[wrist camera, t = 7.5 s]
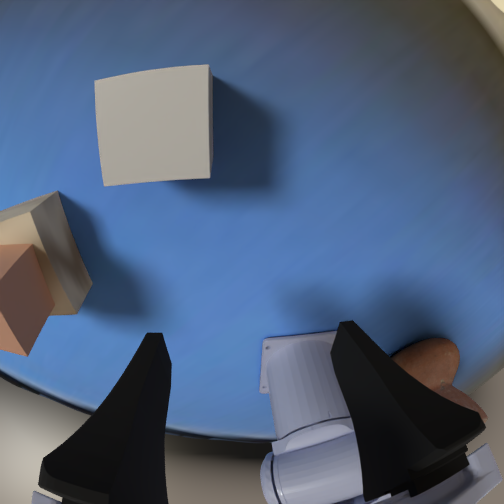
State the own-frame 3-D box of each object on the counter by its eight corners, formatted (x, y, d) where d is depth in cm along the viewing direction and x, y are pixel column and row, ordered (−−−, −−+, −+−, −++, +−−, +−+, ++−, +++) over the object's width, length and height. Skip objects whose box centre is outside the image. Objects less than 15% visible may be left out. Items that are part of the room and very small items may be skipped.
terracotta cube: (55, 304, 16) (27, 356, 12) (11, 300, 15) (-17, 344, 11) (32, 243, 13) (-10, 291, 9) (-12, 245, 13) (-50, 286, 9)
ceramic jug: (330, 378, 30) (363, 485, 18) (430, 303, 25) (497, 404, 13) (385, 403, 37) (412, 472, 25) (456, 351, 33) (495, 418, 21)
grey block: (213, 155, 16) (210, 178, 12) (133, 161, 16) (104, 186, 11) (212, 75, 13) (208, 64, 9) (129, 84, 13) (94, 80, 9)
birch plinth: (94, 281, 20) (77, 314, 17) (30, 288, 20) (11, 316, 16) (59, 188, 16) (29, 211, 12) (-4, 211, 16) (-31, 234, 12)
